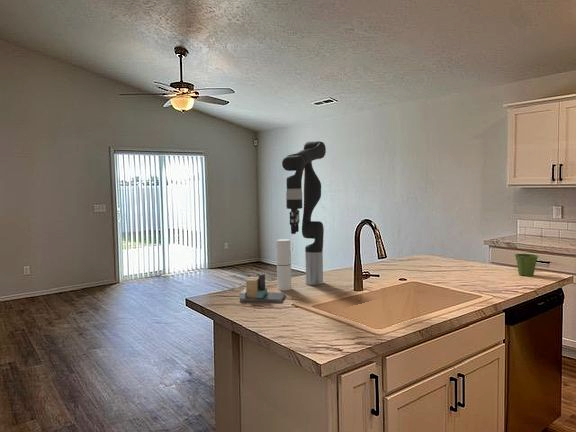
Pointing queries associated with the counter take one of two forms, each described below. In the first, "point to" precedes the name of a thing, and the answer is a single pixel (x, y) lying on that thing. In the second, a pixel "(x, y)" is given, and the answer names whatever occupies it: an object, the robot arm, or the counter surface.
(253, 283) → the block
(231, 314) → the counter surface
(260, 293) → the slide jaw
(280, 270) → the cylindrical container
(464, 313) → the counter surface
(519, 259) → the plant pot
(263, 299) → the vise
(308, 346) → the counter surface
